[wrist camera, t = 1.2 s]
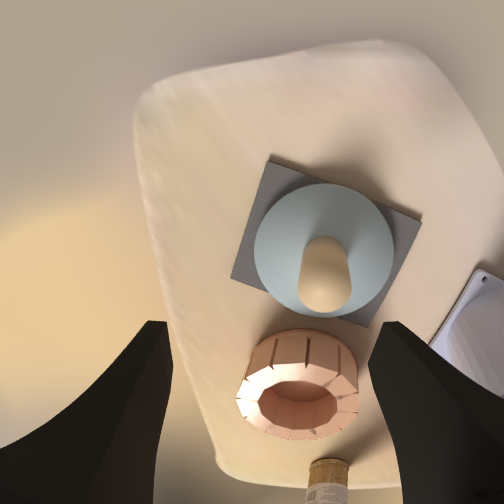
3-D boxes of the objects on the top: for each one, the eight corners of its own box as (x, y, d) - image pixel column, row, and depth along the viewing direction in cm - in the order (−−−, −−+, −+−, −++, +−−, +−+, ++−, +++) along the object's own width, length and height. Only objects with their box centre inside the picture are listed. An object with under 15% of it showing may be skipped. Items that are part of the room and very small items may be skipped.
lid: (412, 215, 17) (439, 242, 12) (355, 326, 20) (361, 374, 16) (281, 162, 17) (268, 172, 13) (240, 284, 21) (219, 325, 16)
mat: (420, 221, 17) (422, 223, 17) (366, 324, 20) (367, 327, 20) (268, 160, 18) (267, 161, 17) (231, 275, 21) (230, 278, 21)
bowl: (375, 349, 21) (381, 384, 18) (327, 415, 25) (325, 448, 21) (268, 312, 22) (258, 346, 18) (237, 387, 25) (225, 419, 22)
